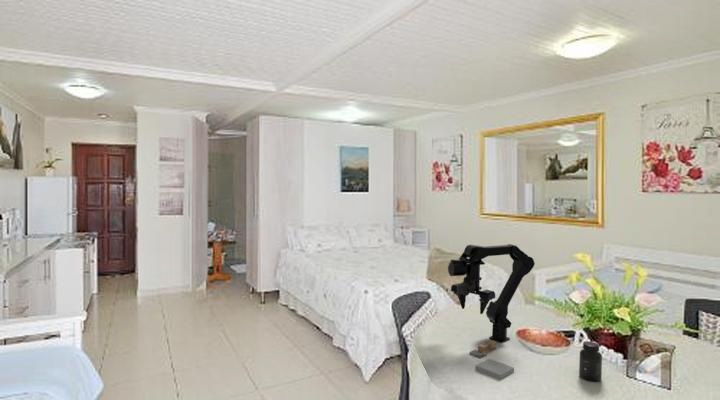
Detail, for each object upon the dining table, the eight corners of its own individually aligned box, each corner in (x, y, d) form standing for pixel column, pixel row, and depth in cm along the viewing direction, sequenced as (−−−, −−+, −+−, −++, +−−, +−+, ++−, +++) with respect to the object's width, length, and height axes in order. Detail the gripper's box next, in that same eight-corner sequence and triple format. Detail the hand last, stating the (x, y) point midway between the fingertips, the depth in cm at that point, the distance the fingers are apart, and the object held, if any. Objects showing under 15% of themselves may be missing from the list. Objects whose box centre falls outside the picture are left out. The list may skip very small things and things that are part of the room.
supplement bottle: (574, 375, 147) (575, 341, 146) (588, 372, 149) (589, 339, 149) (591, 383, 140) (592, 348, 140) (606, 380, 143) (607, 346, 143)
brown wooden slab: (487, 346, 172) (488, 339, 172) (498, 350, 169) (498, 342, 169) (469, 354, 164) (469, 347, 164) (480, 358, 160) (480, 350, 160)
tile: (489, 358, 156) (475, 365, 150) (514, 367, 149) (500, 374, 143) (488, 364, 156) (475, 370, 150) (513, 373, 149) (500, 380, 143)
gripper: (443, 273, 178) (442, 309, 179) (480, 281, 164) (480, 320, 165) (459, 270, 186) (458, 305, 186) (496, 277, 171) (495, 315, 172)
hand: (472, 311), depth 177 cm, fingers open, 9 cm apart
